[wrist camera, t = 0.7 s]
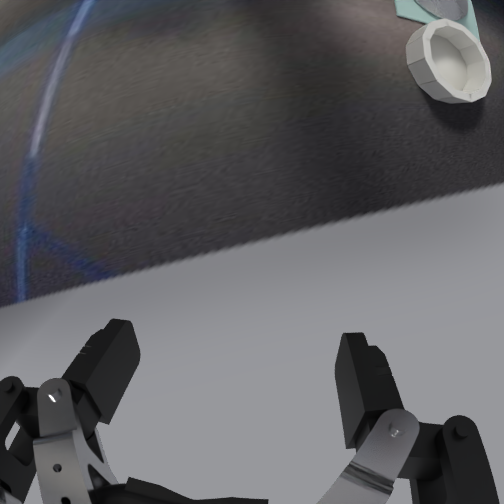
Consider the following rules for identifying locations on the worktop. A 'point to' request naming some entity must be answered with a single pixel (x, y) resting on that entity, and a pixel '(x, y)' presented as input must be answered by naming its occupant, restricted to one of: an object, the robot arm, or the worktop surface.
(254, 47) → the worktop surface
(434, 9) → the lid
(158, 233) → the worktop surface
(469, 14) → the mat
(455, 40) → the dish
